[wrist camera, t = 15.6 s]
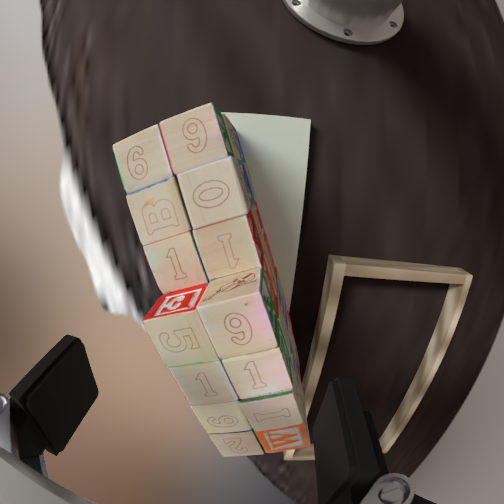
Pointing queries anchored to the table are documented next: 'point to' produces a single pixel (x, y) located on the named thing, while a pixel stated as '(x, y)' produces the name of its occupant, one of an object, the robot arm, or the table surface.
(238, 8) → the table surface
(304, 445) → the stack of blocks
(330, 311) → the beige open rectangular frame
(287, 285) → the sage mat
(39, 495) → the robot arm
